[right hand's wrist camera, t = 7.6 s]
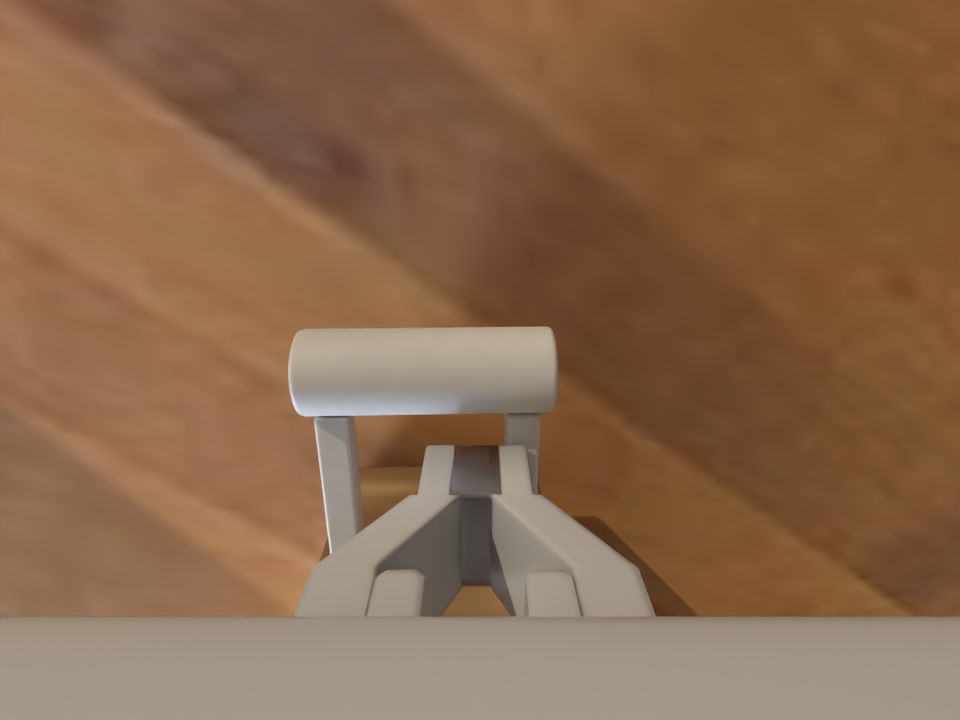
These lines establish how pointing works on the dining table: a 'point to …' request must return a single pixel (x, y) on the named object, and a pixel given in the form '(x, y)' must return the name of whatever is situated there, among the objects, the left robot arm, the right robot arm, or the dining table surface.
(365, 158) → the dining table surface
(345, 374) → the drawer
